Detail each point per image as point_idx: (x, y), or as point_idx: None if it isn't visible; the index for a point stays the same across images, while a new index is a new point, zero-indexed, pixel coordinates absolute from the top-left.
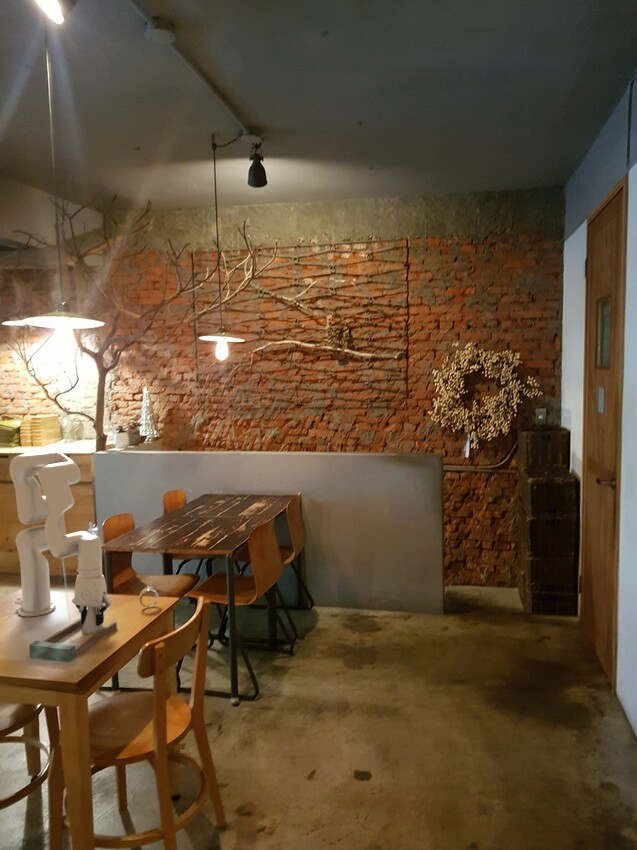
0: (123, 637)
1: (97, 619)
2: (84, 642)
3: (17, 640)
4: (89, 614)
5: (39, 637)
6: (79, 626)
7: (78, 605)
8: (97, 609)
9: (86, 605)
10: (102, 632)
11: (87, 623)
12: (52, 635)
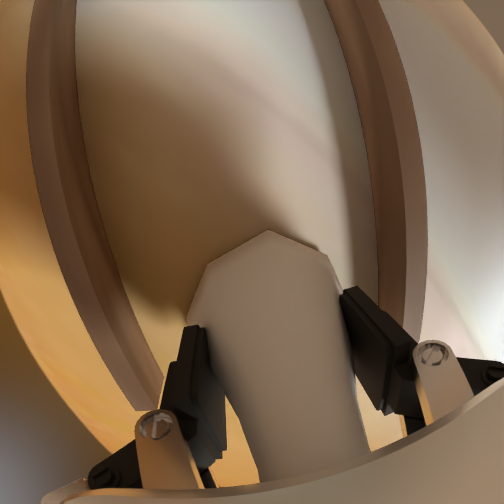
0: (23, 308)
1: (176, 362)
2: (37, 50)
3: (495, 65)
4: (291, 376)
5: (467, 102)
6: (383, 294)
7: (488, 385)
8: (168, 463)
9: (346, 482)
10: (60, 255)
11: (275, 293)
12: (388, 27)
